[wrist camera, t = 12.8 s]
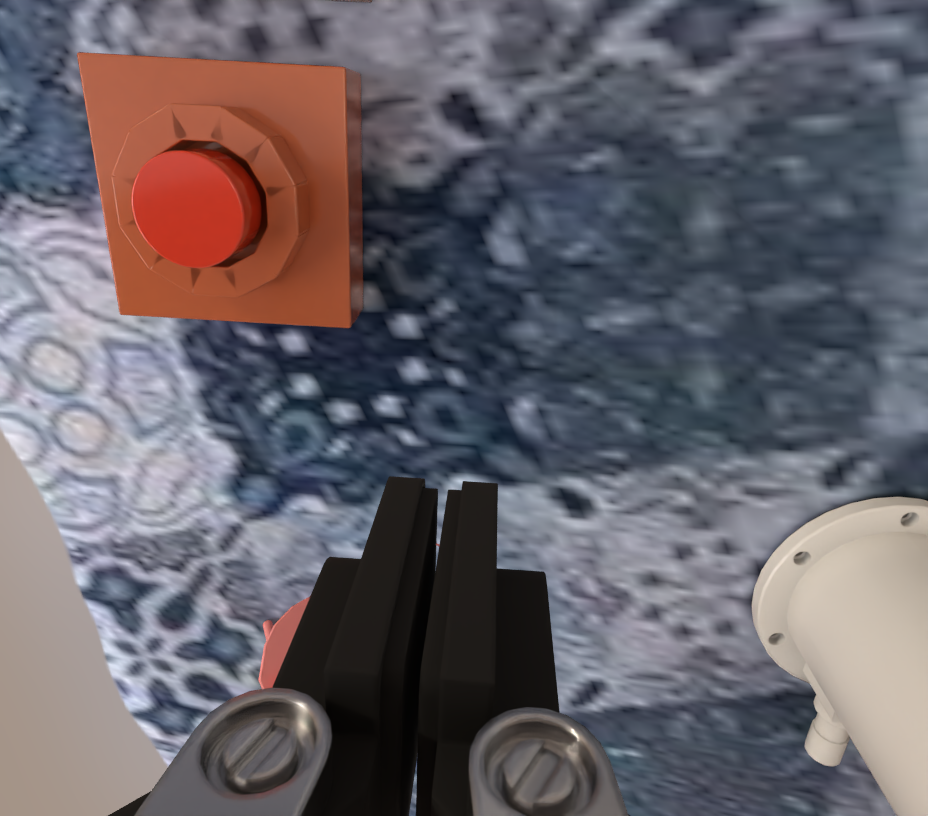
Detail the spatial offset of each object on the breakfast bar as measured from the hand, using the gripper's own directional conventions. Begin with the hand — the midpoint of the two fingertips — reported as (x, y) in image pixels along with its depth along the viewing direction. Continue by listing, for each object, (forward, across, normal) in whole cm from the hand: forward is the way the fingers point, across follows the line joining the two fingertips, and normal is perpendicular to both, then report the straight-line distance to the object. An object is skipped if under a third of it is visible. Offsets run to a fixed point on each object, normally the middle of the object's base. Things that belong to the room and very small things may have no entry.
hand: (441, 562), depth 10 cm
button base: (+21, +10, -3) cm, 24 cm away
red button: (+17, +10, -3) cm, 20 cm away
